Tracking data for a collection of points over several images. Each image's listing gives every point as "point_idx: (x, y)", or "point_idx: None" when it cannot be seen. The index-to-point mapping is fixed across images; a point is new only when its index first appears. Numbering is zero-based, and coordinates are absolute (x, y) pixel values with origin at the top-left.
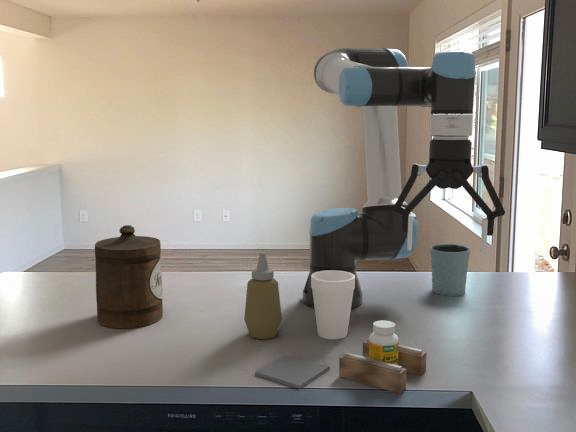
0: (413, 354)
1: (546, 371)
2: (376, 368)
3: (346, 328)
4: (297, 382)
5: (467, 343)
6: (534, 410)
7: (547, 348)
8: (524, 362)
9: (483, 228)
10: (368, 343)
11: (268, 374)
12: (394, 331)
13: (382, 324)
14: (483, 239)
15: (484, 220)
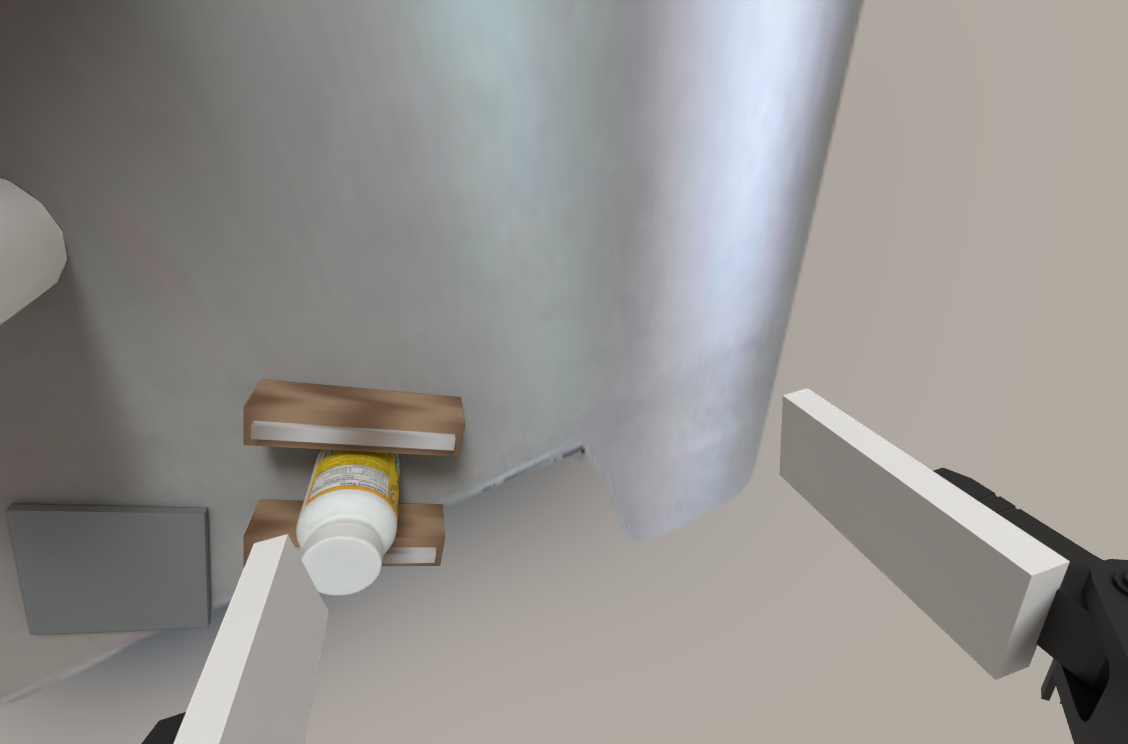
0: (433, 454)
1: (751, 260)
2: None
3: (47, 255)
4: (190, 620)
5: (538, 119)
6: (699, 465)
7: (786, 60)
8: (706, 220)
9: (919, 603)
10: (266, 444)
11: (82, 627)
12: (383, 552)
13: (337, 572)
14: (852, 536)
15: (991, 666)
